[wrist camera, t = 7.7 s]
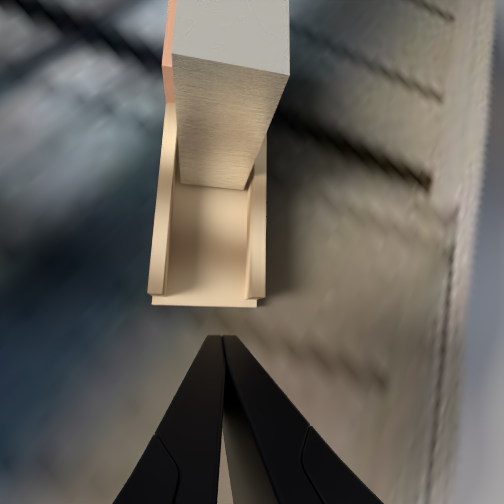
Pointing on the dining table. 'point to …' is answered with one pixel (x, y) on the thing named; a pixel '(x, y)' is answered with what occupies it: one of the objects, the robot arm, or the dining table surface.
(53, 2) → the dining table surface
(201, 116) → the brushed grey block
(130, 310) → the dining table surface
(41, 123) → the dining table surface
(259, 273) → the guide channel
